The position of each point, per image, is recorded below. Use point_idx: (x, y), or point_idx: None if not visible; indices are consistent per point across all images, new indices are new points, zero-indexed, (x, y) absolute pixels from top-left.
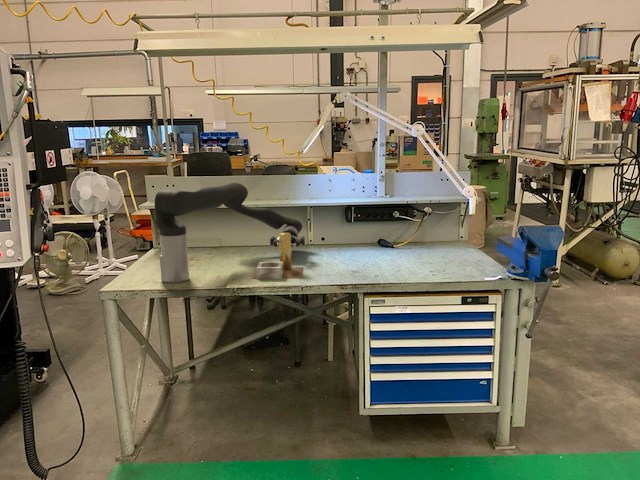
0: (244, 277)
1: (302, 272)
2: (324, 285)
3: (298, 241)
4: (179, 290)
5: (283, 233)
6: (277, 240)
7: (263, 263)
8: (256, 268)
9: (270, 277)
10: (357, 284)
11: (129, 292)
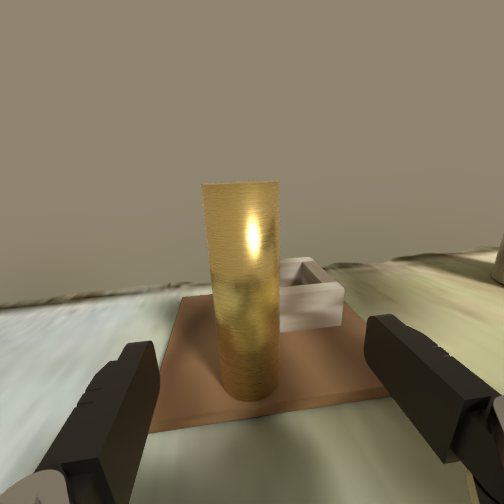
0: (374, 314)
1: (172, 338)
2: (131, 293)
3: (96, 408)
4: (423, 255)
5: (251, 182)
6: (495, 442)
7: (321, 285)
8: (309, 257)
9: None
10: (38, 305)
11: (491, 246)
